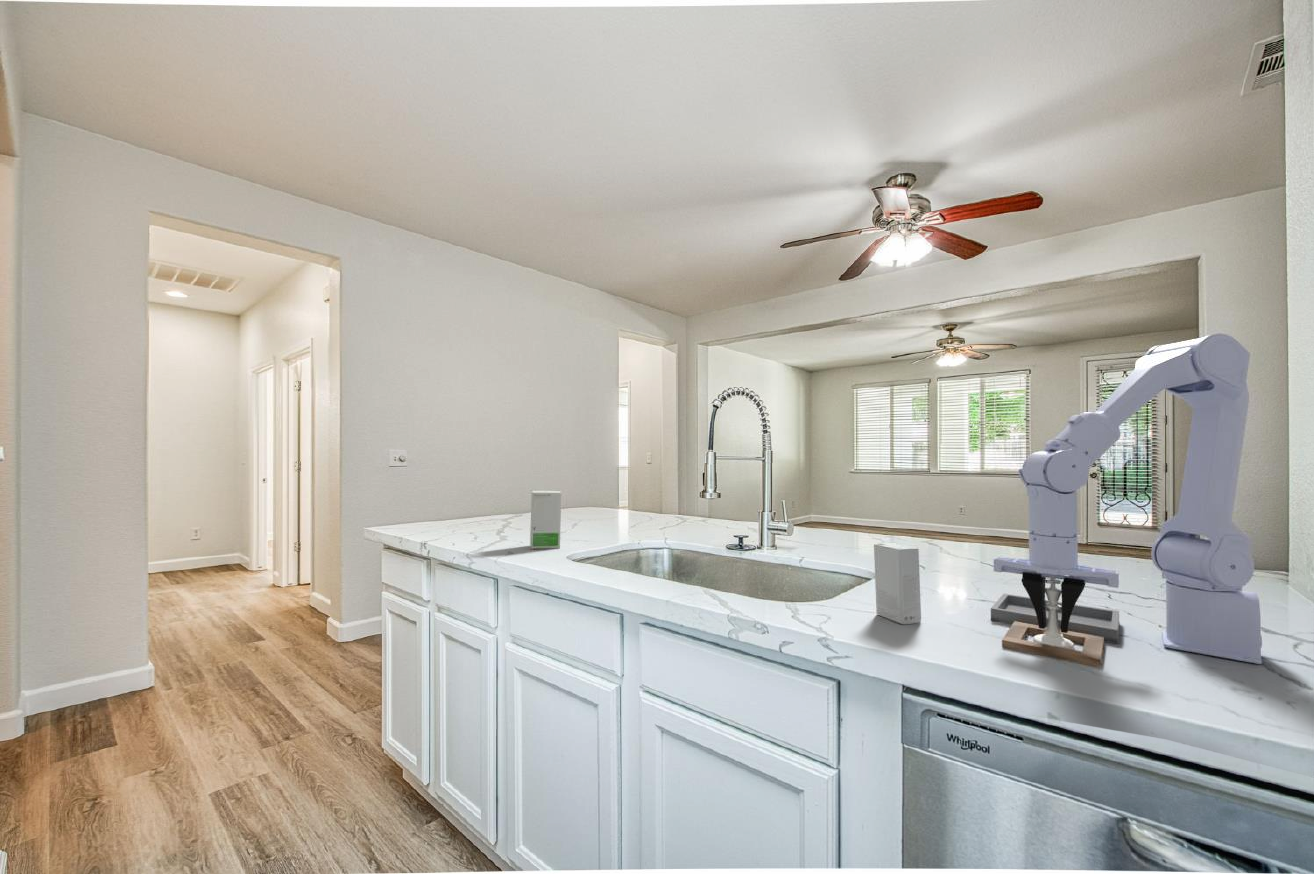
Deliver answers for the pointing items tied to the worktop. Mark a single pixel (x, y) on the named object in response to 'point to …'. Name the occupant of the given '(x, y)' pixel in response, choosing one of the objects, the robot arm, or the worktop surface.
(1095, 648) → the walnut holder
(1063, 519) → the robot arm
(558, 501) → the skincare box
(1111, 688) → the worktop surface
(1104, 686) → the worktop surface
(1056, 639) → the chess piece
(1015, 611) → the parts tray
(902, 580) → the skincare box
